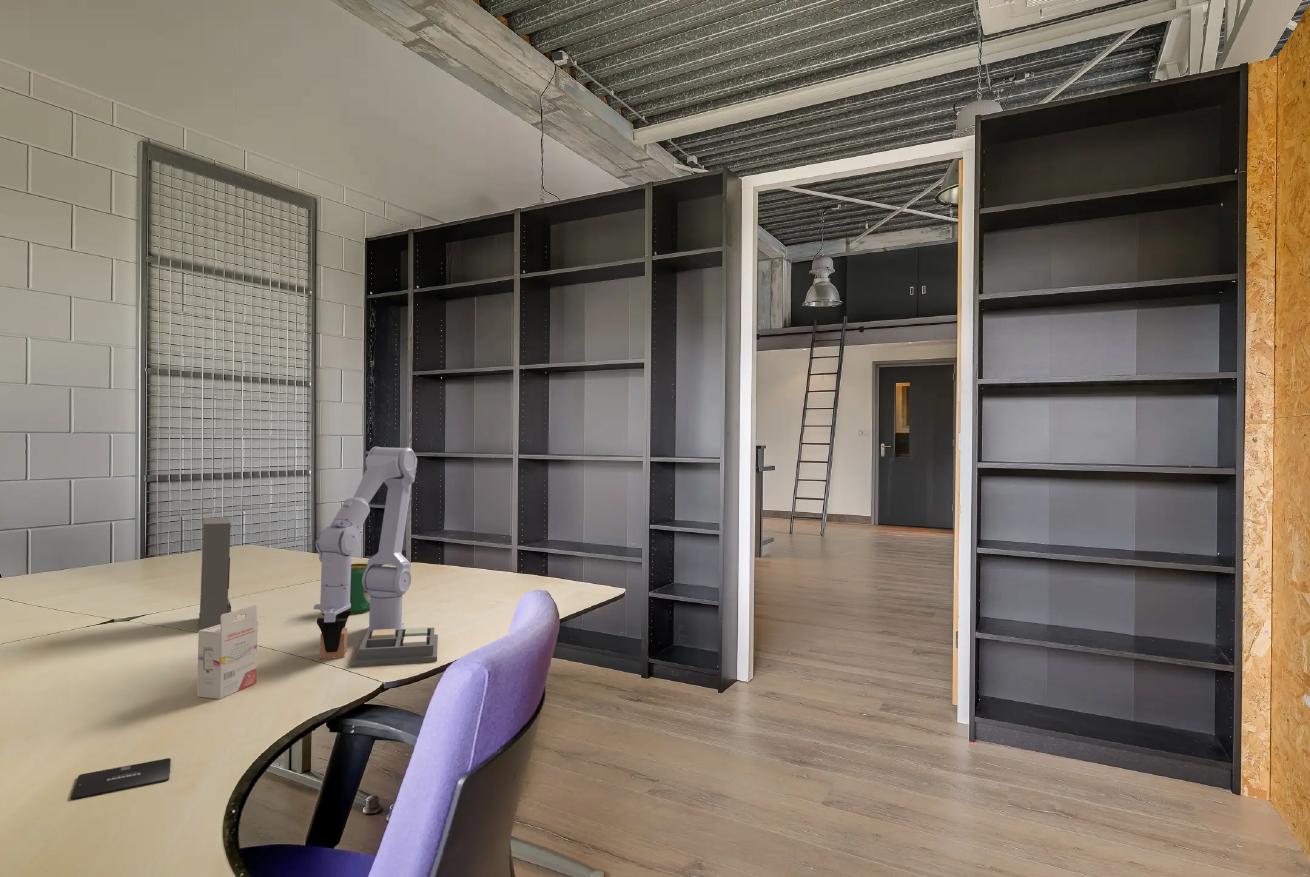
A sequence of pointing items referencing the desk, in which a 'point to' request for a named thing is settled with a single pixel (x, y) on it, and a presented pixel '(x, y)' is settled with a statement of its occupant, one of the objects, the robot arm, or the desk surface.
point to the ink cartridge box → (228, 654)
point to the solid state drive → (121, 778)
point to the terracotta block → (341, 648)
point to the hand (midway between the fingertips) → (333, 648)
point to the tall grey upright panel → (215, 571)
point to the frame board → (397, 647)
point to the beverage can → (358, 590)
